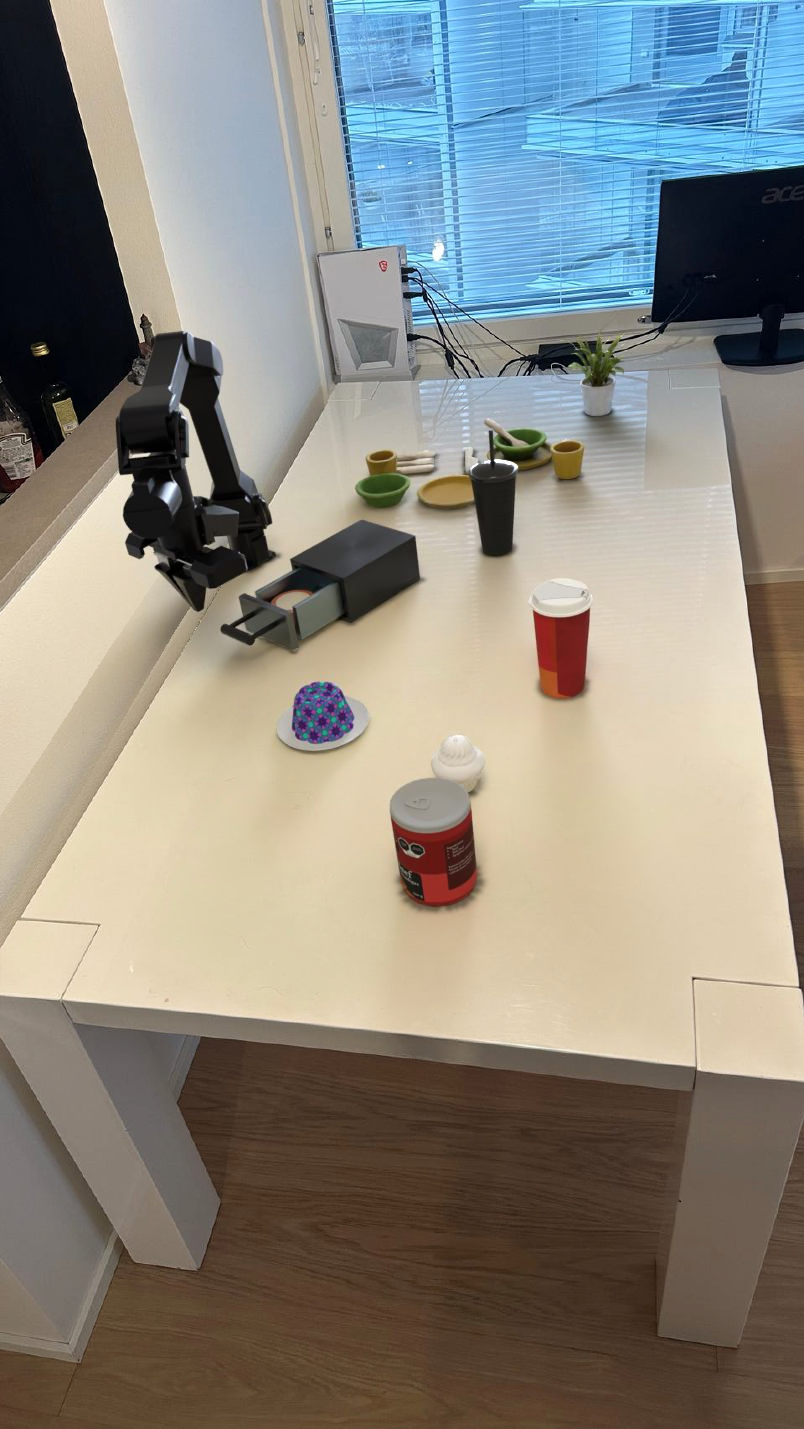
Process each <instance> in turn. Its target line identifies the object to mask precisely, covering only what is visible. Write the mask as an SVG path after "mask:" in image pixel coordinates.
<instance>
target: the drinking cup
mask: <svg viewBox="0 0 804 1429" xmlns="http://www.w3.org/2000/svg"><path fill="white" fill-rule="evenodd" d="M488 445H489V450H490V460H488V459H486V460H483V461H481V462H478V464H476V465H474V466H472V467H471V468H470V469H469V471H468V474H467V475H469V477H470V478H471V483H472V489H473V495H474V501H475V503H474V507H475V513H476V519H477V524H478V531H479V537H480V541H481V550H482V552H483V554H484V555H487V556H490V557H502V556H505V555H508V554H510V553H511V552H512V551H513V544H514V525H515V524H514V523H515V506H516V488H517V475H518V474H519V470H518V467H517V465H516V464H514V463H512V462H509V461H504V460H499V459H495V457H494V446H495V445H494V431H493V429H490V428H489V429H488Z"/></svg>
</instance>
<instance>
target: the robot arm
mask: <svg viewBox="0 0 804 1429" xmlns="http://www.w3.org/2000/svg"><path fill="white" fill-rule="evenodd" d="M150 349H151V351H150V352H151V353H150V356H149V359H148V362H147V366H146V369H145V372H144V376H143V379H142V383H141V386H140V389H139V390H138V391H137V392H135V393H133V394H132V395H130V396H128V397H126V399H125V400H124V402H123V404H122V406H121V407H120V409H119V412H118V416H116V418H115V438H116V451H117V464H118V465H117V466H118V474H119V476H129V475H132V478H133V481H132V483H131V485H130V486H131V492H130V494H129V495H128V497H127V499H126V501H125V503H124V505H123V508H122V518H123V521H124V523H125V526H126V527H127V528H128V529H129V531H130V532H129V533H128V534H127V536H126V539H125V542H124V545H125V548H126V550H127V554H128V556H131V557H132V558H135V559H137V560H141V559H144V557H145V555H146V552H145V549H146V548H147V547H150V548H152V549H153V552H152V553H153V555H154V556H156V558H157V562H158V563H157V564H155V565H154V566H153V568H154V570H155V571H156V572H158V573H159V574H160V575H161V576H162V577H163V578H164V579H165V580H166V581H167V582H168V583H169V585H171V587H172V588H174V590H175V591H176V592H177V593H178V594H179V595H180V596H181V597H182V599H183V600H184V601H185V602H186V603H187V604H188V606H190V607H191V609H192V610H193V611H195V612H197V613H199V612H202V611H203V610H204V609H205V603H206V594H207V589H209V590H213V589H217V588H219V587H222V586H223V585H224V584H227V583H228V582H231V581H232V580H234V579H236V578H237V577H239V576H241V575H243V574H245V573H247V572H248V571H252V570H253V569H255V568H257V567H259V566H261V565H262V564H264V563H266V562H268V561H270V560H271V559H274V558H275V557H276V556H277V552H276V551H274V550H270V549H269V545H268V541H267V536H266V535H265V530H267V528H268V527H269V526H271V525H272V524H273V517H272V512H271V510H270V507H269V504H268V502H267V501H266V499H265V497H264V496H263V494H262V493H261V492H259V491H258V488H257V485H256V482H255V480H254V479H253V478H252V477H251V476H249V474H246V473H245V472H244V471H242V470H241V469H240V465H239V462H238V459H237V455H236V452H235V449H234V446H233V442H232V439H231V435H230V432H229V430H228V426H227V423H226V419H225V416H224V413H223V409H222V406H221V404H220V400H219V396H220V392H221V384H222V378H223V375H224V363H223V357H222V354H221V351H220V349H219V348H218V347H217V346H216V345H215V343H214V342H212V341H211V340H206V339H203V338H199V337H196V336H194V335H193V334H192V333H191V332H190V331H188V332H186V331H185V330H179V331H177V330H176V331H169V332H160V333H156V334H155V335H152V336H151V338H150ZM179 405H182V406H183V407H184V408H186V409H187V410H188V412H189V415H190V418H191V422H192V425H193V427H194V431H195V434H196V437H197V440H198V442H199V446H200V448H201V452H202V454H203V456H204V460H205V463H206V466H207V469H208V472H209V475H210V478H211V480H212V482H211V486H210V493H209V498H208V497H205V496H203V495H193V490H192V486H191V482H190V479H189V478H190V477H189V475H188V470H187V466H186V463H187V459H189V458H190V431H189V430H190V429H189V428H190V426H189V421H188V419H187V418H186V417H185V416H184V413H183V411H182V410H181V409H180V406H179ZM130 454H131V455H132V456H133V455H134V456H135V455H144V454H149V455H147V456H137V457H136V456H135V457H130ZM217 537H218V538H219V537H227V542H228V547H226V546H223V545H219V546H217V547H216V548H211V547H208V546H210V545H212V544H214V543H216V539H215V538H217Z"/></svg>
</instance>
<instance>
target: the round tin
mask: <svg viewBox="0 0 804 1429" xmlns="http://www.w3.org/2000/svg"><path fill="white" fill-rule="evenodd" d="M313 594H314V593H312V592H310V591H306V590H293V591H288V592H285V593H282V594H280V595H278V596H276V597H275V598H274V599H273V600H272V602H271V604H273V605H275V606H278V607H280V608H282V609H285V610H287V611H290V612H292V616H293V621H294V626H296V624H295V618H294V613H293V608H292V606H294V605H296V604H297V603H299V602H301V601H302V600H304V599H306V598H307V597H309V596H311V595H313Z"/></svg>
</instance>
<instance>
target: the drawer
mask: <svg viewBox="0 0 804 1429" xmlns="http://www.w3.org/2000/svg"><path fill="white" fill-rule="evenodd" d="M293 590H306V591H310V592H312V593H314V594H313V595H311V596H309V597H307V598H306V599H304V600H302V601H301V602H299V603H297V604H296V605H294V606H292V608H293V613H294V618H295V624H296V626H294V621H293V616H292V612H290V611H287V610H285V609H282V608H280V607H278V606H275V605H273V604H271V602H272V600H273V599H274V598H275V597H276V596H278V595H280V594H282V593H285V592H288V591H293ZM254 594H255V596H253V595H250V594H248V593H245V592H244V593H241V594H240V595H238V596H237V597H238V602H239V606H240V609H241V613H242V616H241V617H240V618H238V619H237V620H235V621H233V622H231V623H230V624H228V623H223V624H221V626H220V628H219V631H220V633H221V634H222V635H225V636H227V637H229V638H231V639H234V640H236V641H238V642H240V643H242V644H245V645H247V646H249V647H250V646H253V645H254V644H255V642H256V639H258V638H259V637H260V638H263V639H265V640H267V641H269V642H272V643H274V644H276V645H279V646H281V647H283V648H285V649H287V650H290V651H295V650H297V649H298V648H299V647H300V646H299V641H298V639H299V640H304V639H306V638H308V637H309V636H310V635H312V634H314V633H315V632H317V631H318V630H320V629H322V628H323V627H326V626H327V625H329V624H330V623H331V622H333V621H335V620H337V619H339V618H338V617H339V616H341V615H343V614H344V613H346V611H345V605H344V599H343V593H342V587H341V582H340V581H337V580H335V579H332V578H329V577H326V576H324V575H321V574H318V573H315V572H313V571H310V570H307V569H304V568H302V567H297V568H296V569H294V570H292V569H291V570H290V571H289V572H287V573H285V574H283V575H282V576H280V577H278V578H276V579H274V580H273V581H271V582H269V583H267V584H266V585H265V584H264V585H263V586H262V587H260V588H259V589H257V590H255V591H254ZM242 624H244V626H245V627H244V628H245V631H244V630H242V629H239V628H237V627H239V626H241V625H242ZM246 631H247V632H246ZM248 632H249V633H248ZM250 633H251V634H250Z"/></svg>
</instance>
